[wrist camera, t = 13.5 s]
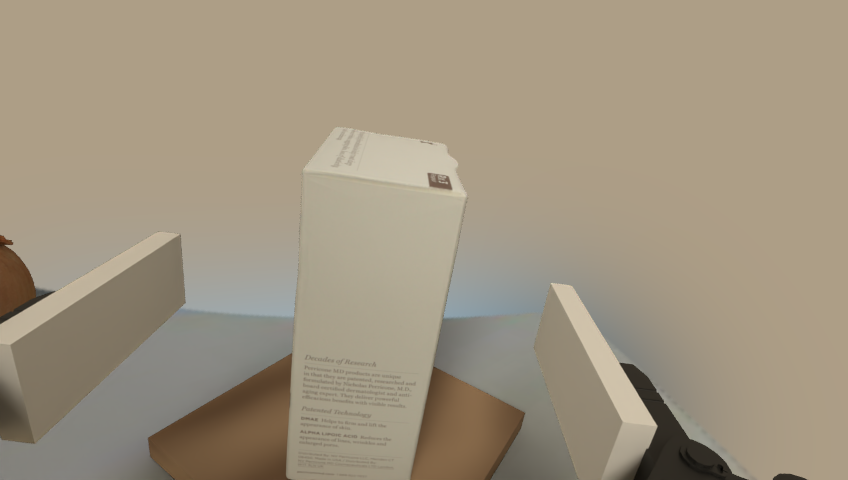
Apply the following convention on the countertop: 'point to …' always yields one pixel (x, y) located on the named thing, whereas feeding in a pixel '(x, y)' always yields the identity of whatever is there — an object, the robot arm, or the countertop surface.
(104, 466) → the countertop surface
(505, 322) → the countertop surface
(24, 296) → the onion
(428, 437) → the coaster
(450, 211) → the skincare box
